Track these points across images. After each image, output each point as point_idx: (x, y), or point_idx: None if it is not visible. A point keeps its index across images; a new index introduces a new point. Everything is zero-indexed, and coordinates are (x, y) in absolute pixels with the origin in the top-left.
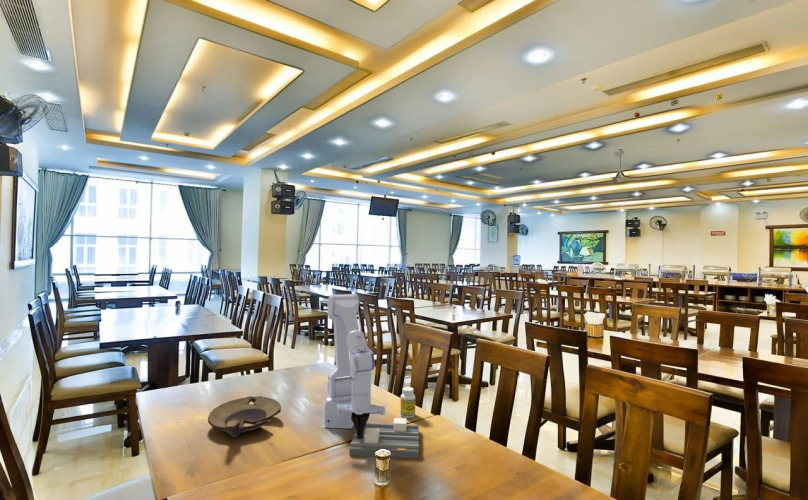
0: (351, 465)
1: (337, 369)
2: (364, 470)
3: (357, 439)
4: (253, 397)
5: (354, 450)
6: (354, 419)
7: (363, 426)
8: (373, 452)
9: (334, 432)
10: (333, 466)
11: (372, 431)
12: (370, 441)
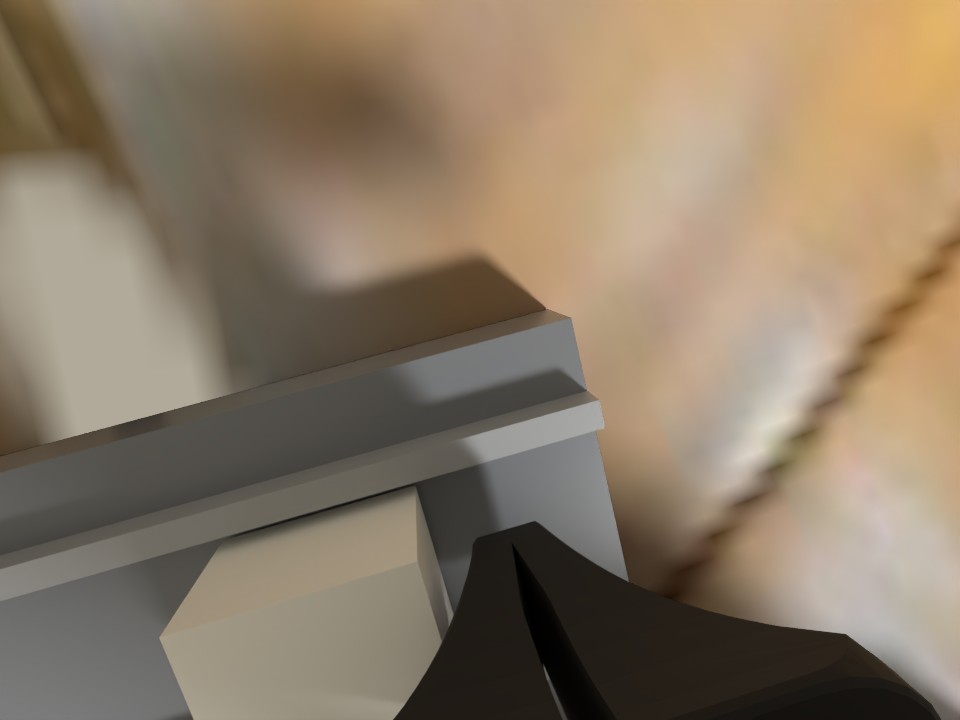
0: (429, 102)
1: None
2: (220, 37)
3: None
4: None
5: (497, 333)
6: (764, 669)
7: (456, 658)
8: (245, 399)
9: None
10: (627, 11)
11: (317, 699)
12: (323, 528)
